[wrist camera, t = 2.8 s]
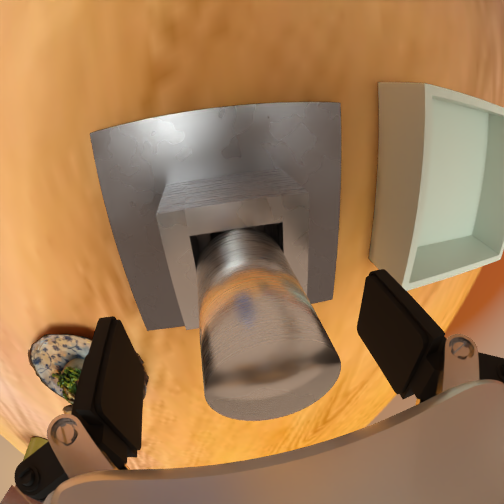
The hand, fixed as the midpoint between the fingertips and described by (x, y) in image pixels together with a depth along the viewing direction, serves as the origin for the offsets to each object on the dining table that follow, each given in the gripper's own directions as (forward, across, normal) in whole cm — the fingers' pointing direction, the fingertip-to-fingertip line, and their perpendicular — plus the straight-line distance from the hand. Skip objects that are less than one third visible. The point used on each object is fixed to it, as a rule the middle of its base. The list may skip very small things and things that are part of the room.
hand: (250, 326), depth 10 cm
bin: (+9, -17, -2) cm, 20 cm away
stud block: (+9, 0, 0) cm, 9 cm away
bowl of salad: (+10, +15, +12) cm, 21 cm away
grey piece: (+8, 0, 0) cm, 8 cm away
